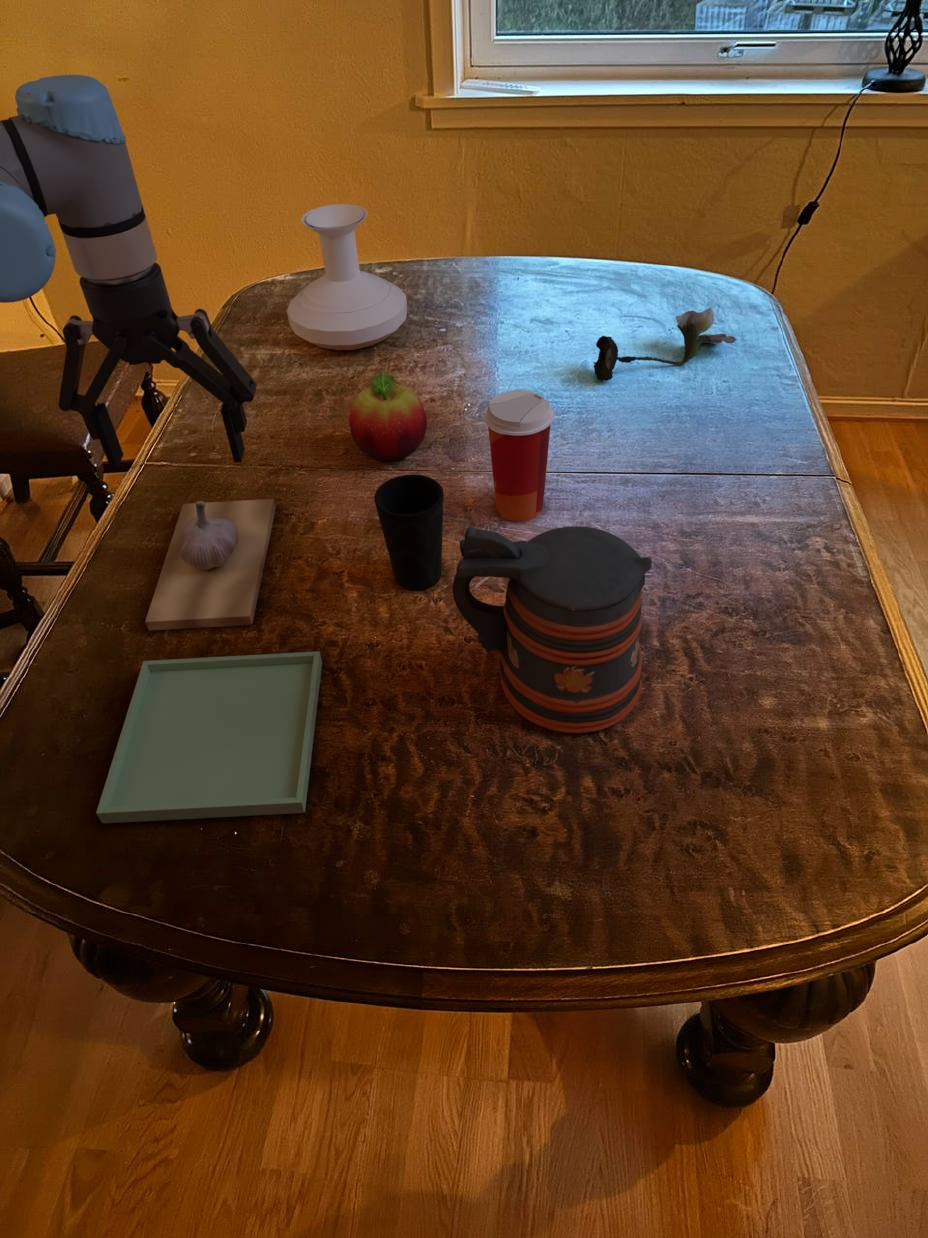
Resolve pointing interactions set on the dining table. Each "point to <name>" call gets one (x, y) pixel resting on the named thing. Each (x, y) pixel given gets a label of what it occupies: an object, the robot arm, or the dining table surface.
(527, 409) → the coffee cup
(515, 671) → the beer stein
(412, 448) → the fruit
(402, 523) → the cup
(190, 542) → the garlic bulb
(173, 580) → the cutting board
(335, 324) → the white vase
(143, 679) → the green square tray
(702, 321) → the artificial flower
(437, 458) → the dining table surface
